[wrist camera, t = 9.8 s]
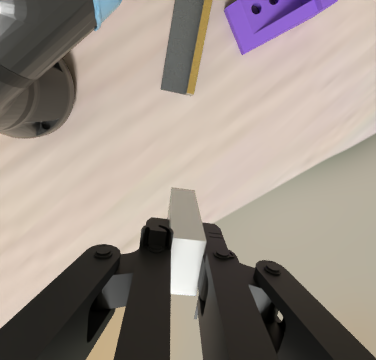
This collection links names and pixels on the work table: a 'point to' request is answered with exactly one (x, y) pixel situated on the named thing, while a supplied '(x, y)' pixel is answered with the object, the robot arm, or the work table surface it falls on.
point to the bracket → (269, 19)
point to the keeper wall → (185, 45)
